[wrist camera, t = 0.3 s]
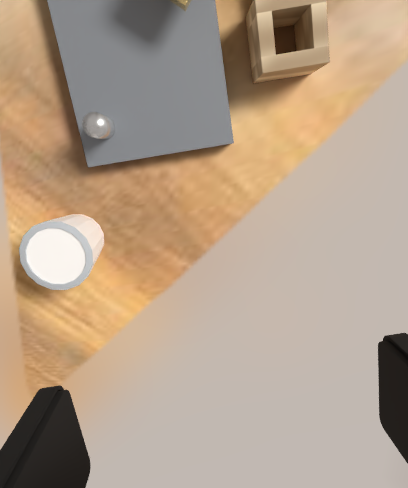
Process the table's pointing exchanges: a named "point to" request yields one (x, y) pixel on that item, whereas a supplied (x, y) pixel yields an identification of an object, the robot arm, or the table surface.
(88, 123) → the pintle
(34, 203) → the table surface
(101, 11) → the board
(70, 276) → the white cylinder
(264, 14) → the link
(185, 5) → the block
